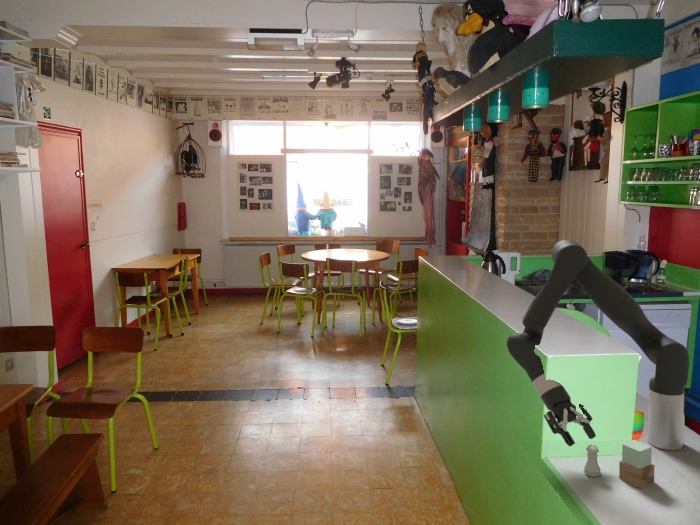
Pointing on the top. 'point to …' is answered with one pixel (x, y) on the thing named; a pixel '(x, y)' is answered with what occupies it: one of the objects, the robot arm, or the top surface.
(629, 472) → the walnut base block
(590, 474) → the rook chess piece
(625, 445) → the sage top block
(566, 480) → the top surface
